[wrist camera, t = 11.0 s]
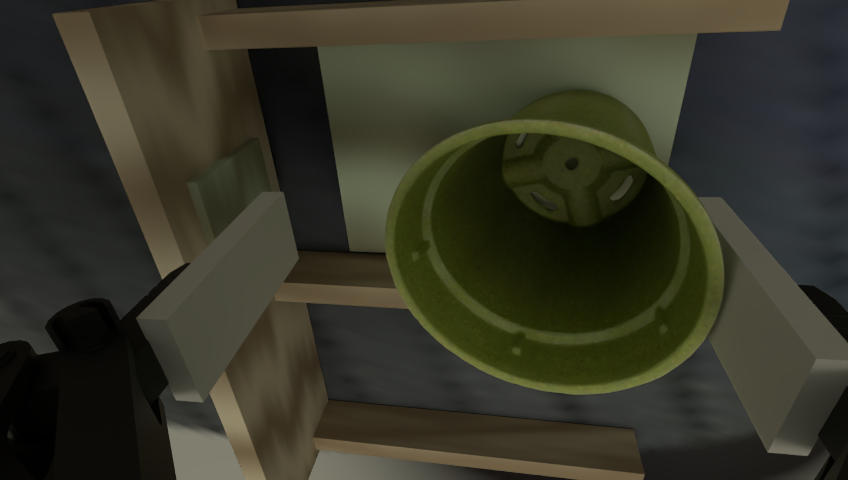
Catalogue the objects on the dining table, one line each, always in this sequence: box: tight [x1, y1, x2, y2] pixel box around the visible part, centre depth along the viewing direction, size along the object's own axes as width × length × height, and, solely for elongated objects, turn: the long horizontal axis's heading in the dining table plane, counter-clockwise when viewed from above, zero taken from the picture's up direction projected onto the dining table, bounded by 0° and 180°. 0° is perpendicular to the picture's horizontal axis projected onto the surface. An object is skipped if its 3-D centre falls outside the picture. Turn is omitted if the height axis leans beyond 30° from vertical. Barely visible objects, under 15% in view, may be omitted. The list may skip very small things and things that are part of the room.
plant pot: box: [385, 89, 724, 395], centre depth 17 cm, size 9×9×9 cm
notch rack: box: [52, 0, 790, 480], centre depth 22 cm, size 27×21×8 cm
